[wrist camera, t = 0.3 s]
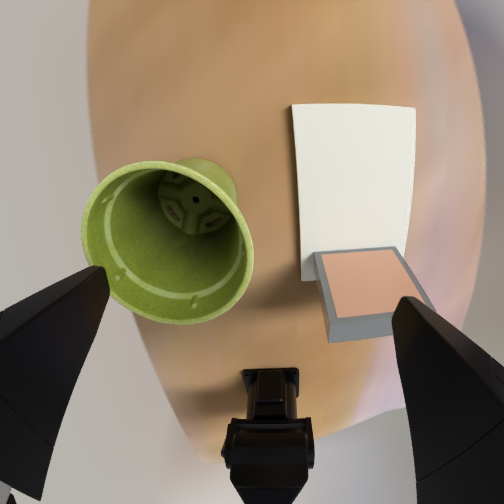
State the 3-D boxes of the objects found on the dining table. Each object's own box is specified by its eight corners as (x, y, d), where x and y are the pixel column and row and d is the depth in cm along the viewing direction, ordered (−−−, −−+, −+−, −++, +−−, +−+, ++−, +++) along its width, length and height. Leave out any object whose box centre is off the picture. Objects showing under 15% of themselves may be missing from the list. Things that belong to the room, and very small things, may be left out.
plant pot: (118, 181, 21) (54, 231, 13) (212, 109, 18) (172, 119, 10) (187, 267, 24) (157, 342, 17) (283, 214, 22) (290, 285, 14)
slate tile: (392, 262, 22) (429, 328, 16) (313, 268, 23) (328, 343, 16) (395, 245, 22) (436, 310, 15) (313, 251, 22) (330, 324, 15)
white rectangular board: (398, 269, 23) (400, 272, 23) (301, 277, 24) (301, 281, 24) (411, 107, 16) (415, 108, 16) (291, 104, 17) (292, 104, 17)
